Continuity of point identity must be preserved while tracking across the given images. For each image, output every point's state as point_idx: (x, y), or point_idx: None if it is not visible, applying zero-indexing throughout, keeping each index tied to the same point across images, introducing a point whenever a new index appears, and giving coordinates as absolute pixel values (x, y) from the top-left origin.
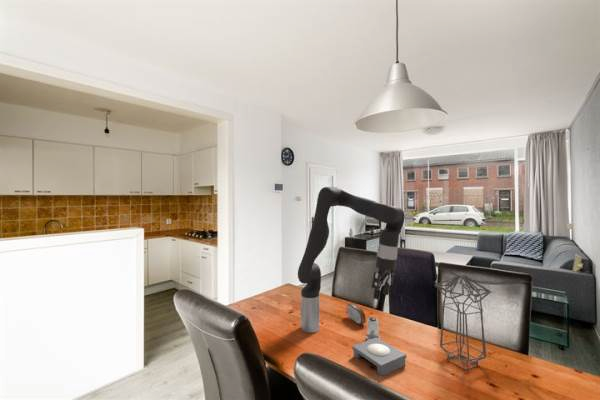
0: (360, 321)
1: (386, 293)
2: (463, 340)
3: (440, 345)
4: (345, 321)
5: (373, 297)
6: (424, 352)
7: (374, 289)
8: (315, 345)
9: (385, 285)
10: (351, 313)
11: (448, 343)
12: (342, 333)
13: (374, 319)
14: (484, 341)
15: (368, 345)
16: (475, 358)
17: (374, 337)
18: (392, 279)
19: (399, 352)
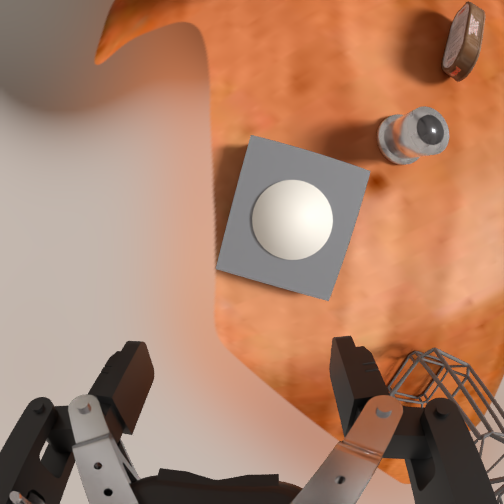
0: (446, 67)
1: (333, 370)
2: (469, 380)
3: (426, 353)
4: (424, 21)
5: (127, 342)
6: (418, 299)
7: (99, 390)
8: (221, 28)
9: (352, 410)
10: (458, 26)
11: (450, 358)
12: (353, 43)
13: (430, 138)
14: None
15: (296, 176)
16: None
17: (391, 150)
18: (423, 480)
19: (326, 280)
